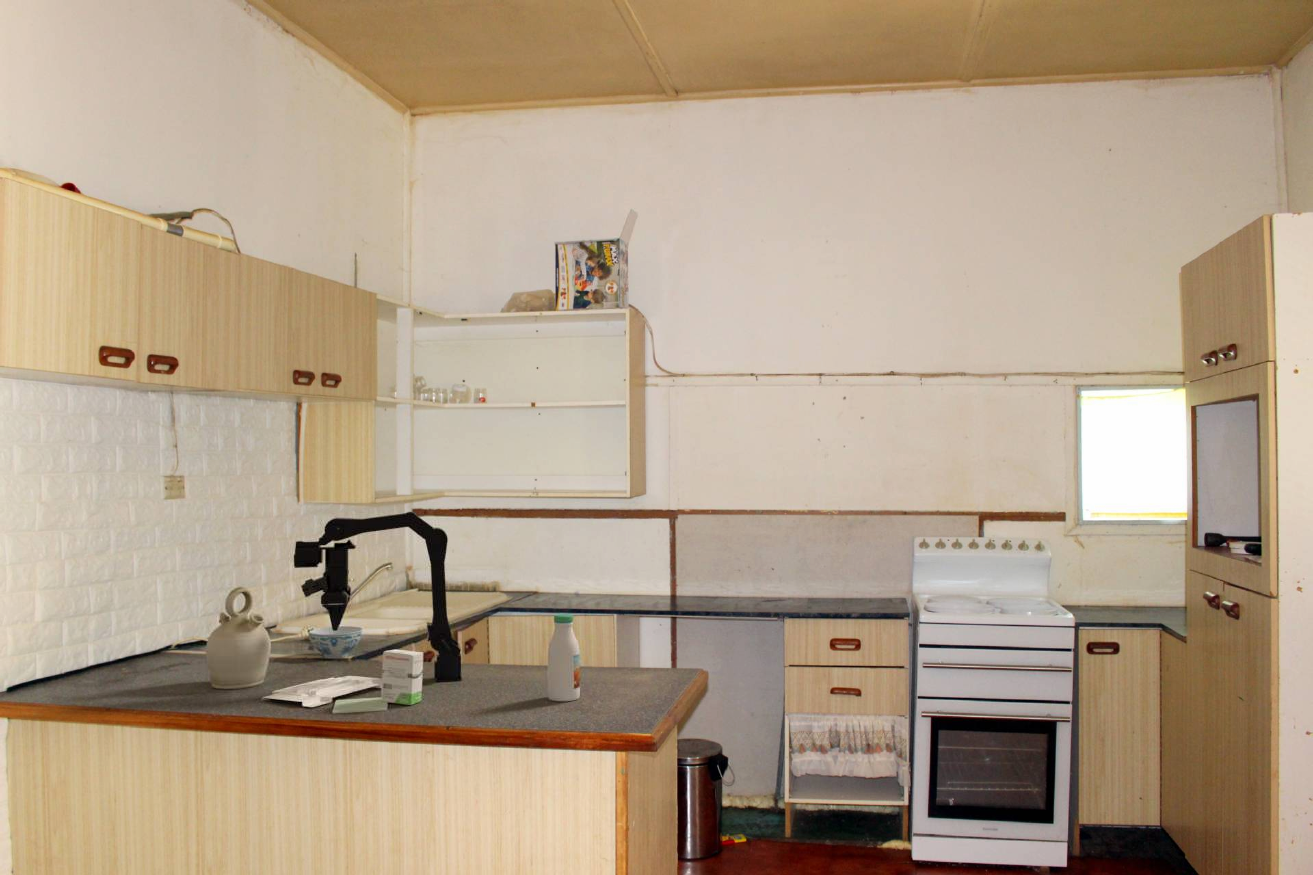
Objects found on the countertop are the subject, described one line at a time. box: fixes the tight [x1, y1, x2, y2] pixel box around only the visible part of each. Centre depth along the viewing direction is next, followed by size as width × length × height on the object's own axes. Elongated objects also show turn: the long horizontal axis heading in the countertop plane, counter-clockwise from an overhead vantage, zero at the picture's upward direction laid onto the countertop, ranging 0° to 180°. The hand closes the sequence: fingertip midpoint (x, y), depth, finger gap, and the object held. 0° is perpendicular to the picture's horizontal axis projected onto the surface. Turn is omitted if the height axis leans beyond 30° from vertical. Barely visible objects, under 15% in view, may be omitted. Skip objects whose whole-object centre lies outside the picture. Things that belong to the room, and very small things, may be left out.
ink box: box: [380, 649, 424, 706], centre depth 234 cm, size 9×5×12 cm, turn 70°
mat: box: [331, 696, 389, 715], centre depth 231 cm, size 12×12×1 cm
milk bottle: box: [547, 613, 581, 702], centre depth 238 cm, size 8×8×20 cm
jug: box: [205, 586, 272, 690], centre depth 256 cm, size 15×16×25 cm
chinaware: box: [308, 625, 363, 659], centre depth 293 cm, size 15×15×8 cm
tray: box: [260, 675, 382, 708], centre depth 245 cm, size 20×28×4 cm
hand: (336, 627), depth 254 cm, fingers open, 9 cm apart
